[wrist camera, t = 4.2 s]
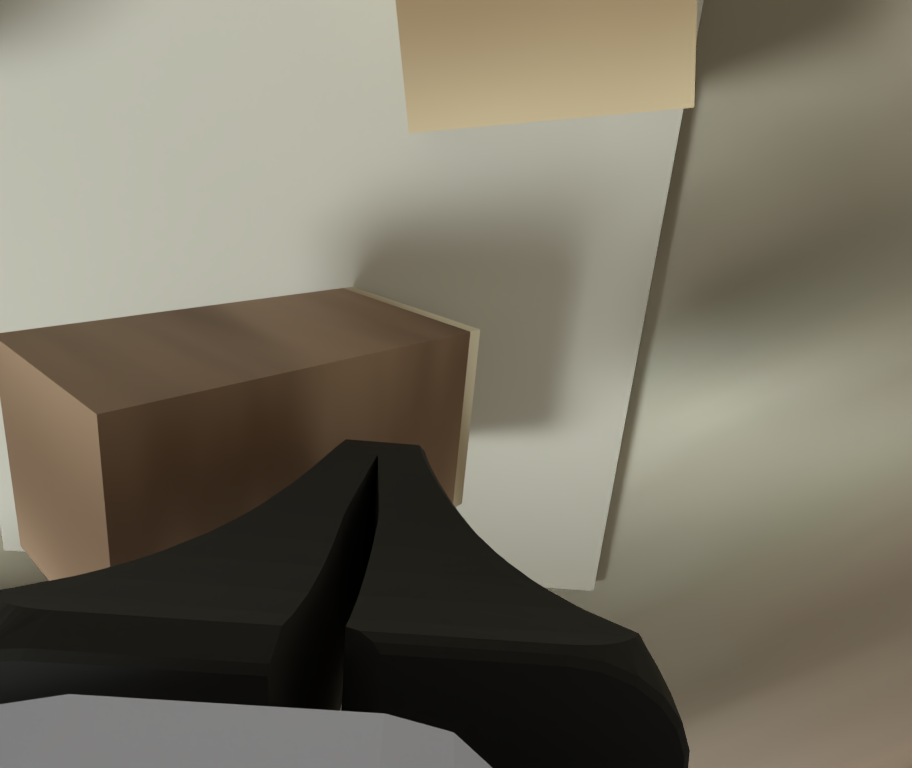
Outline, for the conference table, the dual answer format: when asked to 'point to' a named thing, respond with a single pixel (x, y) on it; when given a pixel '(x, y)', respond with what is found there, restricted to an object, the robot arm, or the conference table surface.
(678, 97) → the oak block
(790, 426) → the conference table surface
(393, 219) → the mat
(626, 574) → the conference table surface
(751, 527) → the conference table surface
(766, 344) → the conference table surface
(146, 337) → the walnut block
